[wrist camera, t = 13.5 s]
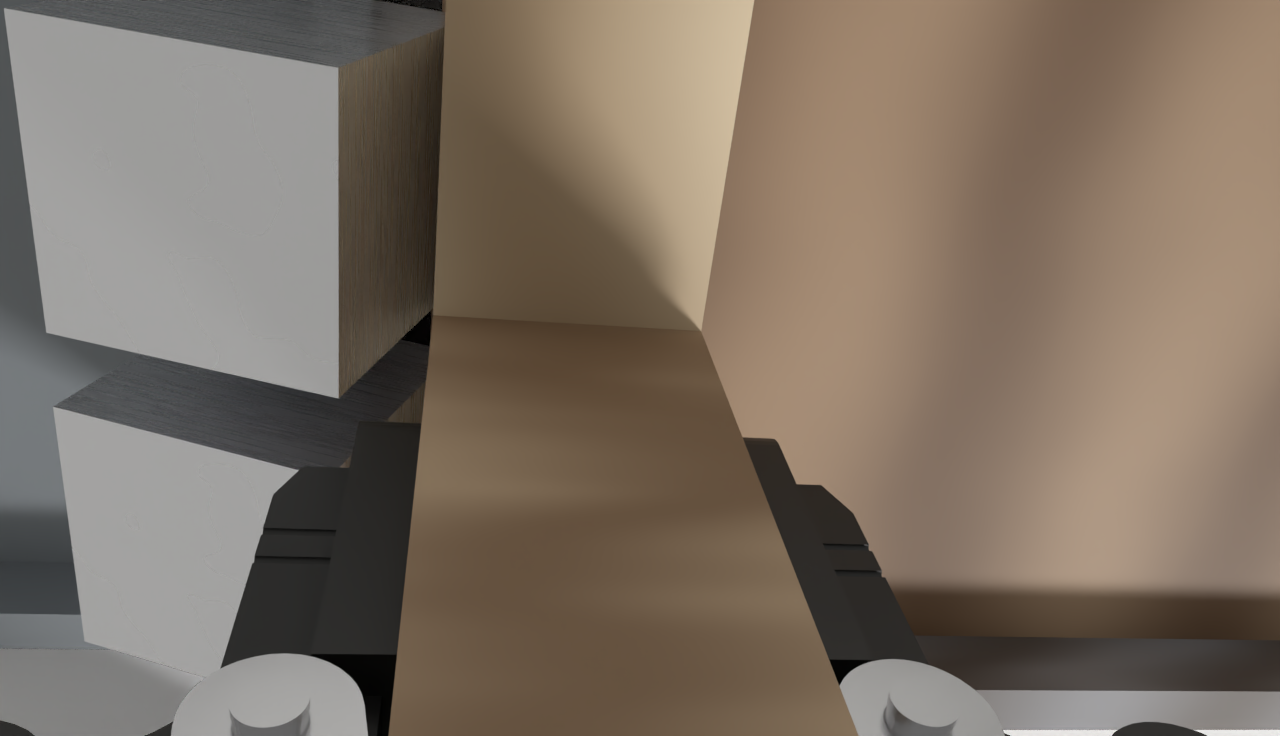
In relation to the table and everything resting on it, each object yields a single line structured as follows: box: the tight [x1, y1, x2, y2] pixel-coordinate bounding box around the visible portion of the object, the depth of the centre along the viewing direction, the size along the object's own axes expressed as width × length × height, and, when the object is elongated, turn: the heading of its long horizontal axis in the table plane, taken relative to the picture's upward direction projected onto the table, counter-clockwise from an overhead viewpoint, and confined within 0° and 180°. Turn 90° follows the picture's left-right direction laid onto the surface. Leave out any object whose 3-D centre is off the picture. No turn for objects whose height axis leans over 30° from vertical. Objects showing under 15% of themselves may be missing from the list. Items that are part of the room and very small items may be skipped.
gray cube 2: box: [4, 0, 445, 399], centre depth 15 cm, size 4×4×4 cm
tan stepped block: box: [388, 0, 859, 736], centre depth 12 cm, size 3×11×11 cm, turn 173°
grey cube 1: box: [53, 339, 430, 678], centre depth 17 cm, size 4×4×4 cm
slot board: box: [430, 0, 1280, 730], centre depth 19 cm, size 20×16×4 cm
